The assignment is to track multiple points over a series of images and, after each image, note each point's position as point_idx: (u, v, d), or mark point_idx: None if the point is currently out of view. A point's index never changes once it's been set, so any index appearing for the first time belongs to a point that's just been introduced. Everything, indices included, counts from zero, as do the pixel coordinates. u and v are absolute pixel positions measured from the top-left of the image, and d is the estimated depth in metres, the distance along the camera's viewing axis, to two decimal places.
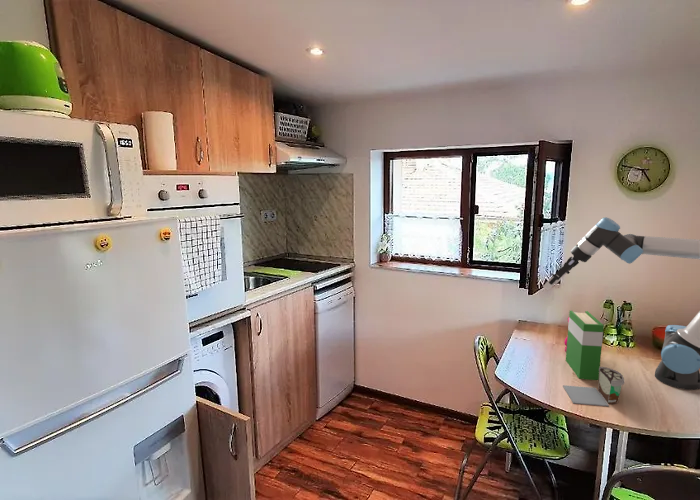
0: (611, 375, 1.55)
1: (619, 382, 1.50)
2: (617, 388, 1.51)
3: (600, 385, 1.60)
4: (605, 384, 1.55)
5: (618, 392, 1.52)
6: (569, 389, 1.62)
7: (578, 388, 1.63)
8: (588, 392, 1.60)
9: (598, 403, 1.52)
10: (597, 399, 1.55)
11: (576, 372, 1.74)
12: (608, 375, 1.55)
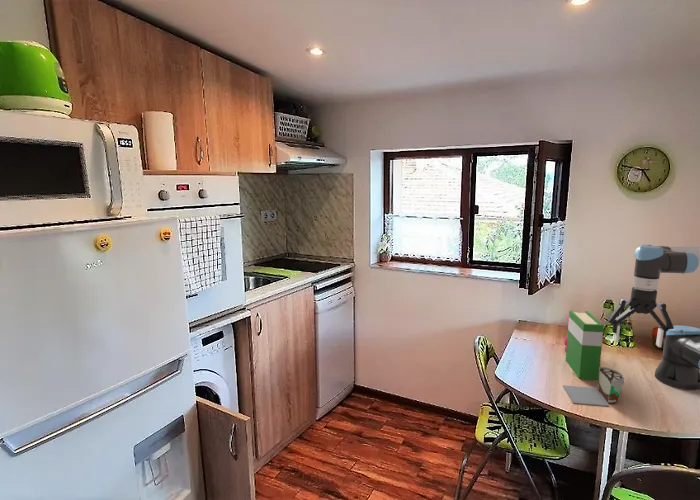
0: (611, 375, 1.55)
1: (619, 382, 1.50)
2: (617, 388, 1.51)
3: (600, 385, 1.60)
4: (605, 384, 1.55)
5: (618, 392, 1.52)
6: (569, 389, 1.62)
7: (578, 388, 1.63)
8: (588, 392, 1.60)
9: (598, 403, 1.52)
10: (597, 399, 1.55)
11: (576, 372, 1.74)
12: (608, 375, 1.55)
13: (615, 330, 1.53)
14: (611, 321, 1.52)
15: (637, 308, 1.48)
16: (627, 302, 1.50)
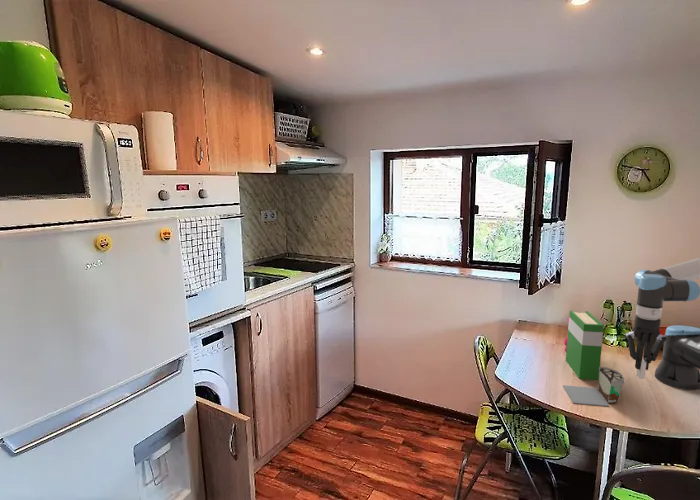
0: (611, 375, 1.55)
1: (619, 382, 1.50)
2: (617, 388, 1.51)
3: (600, 385, 1.60)
4: (605, 384, 1.55)
5: (618, 392, 1.52)
6: (569, 389, 1.62)
7: (578, 388, 1.63)
8: (588, 392, 1.60)
9: (598, 403, 1.52)
10: (597, 399, 1.55)
11: (576, 372, 1.74)
12: (608, 375, 1.55)
13: (639, 366, 1.52)
14: (635, 357, 1.51)
15: (644, 338, 1.48)
16: (632, 334, 1.50)
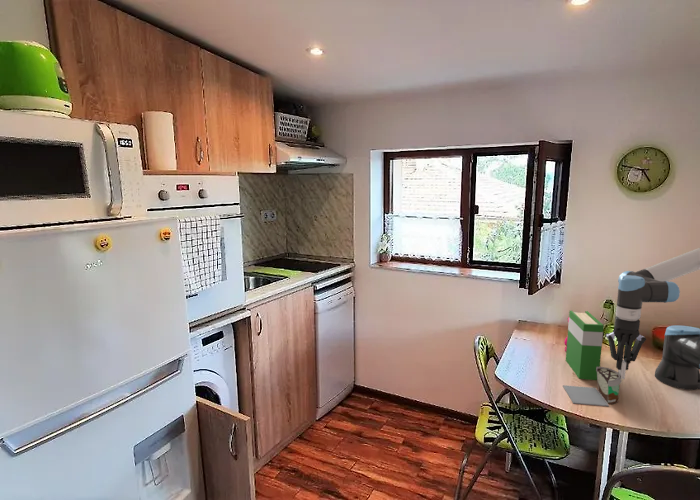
0: (608, 374, 1.56)
1: (616, 381, 1.50)
2: (615, 387, 1.51)
3: (599, 385, 1.60)
4: (603, 384, 1.55)
5: (616, 391, 1.52)
6: (569, 389, 1.62)
7: (578, 388, 1.63)
8: (588, 392, 1.60)
9: (598, 403, 1.52)
10: (597, 399, 1.55)
11: (576, 372, 1.74)
12: (605, 375, 1.55)
13: (620, 367, 1.53)
14: (616, 358, 1.52)
15: (624, 338, 1.50)
16: (612, 335, 1.52)
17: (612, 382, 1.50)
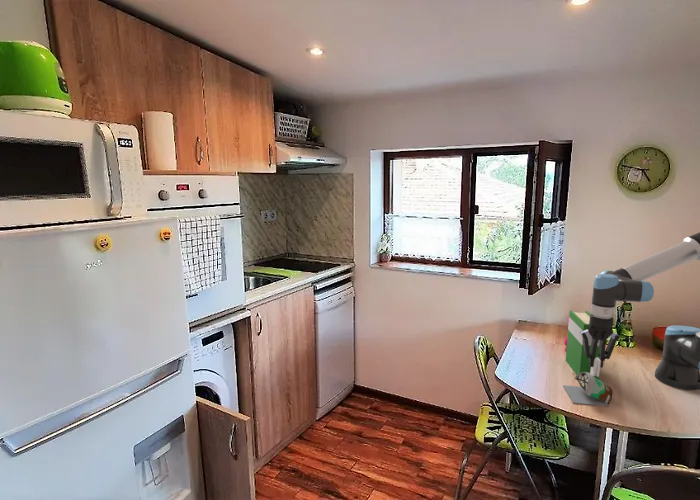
0: (583, 380, 1.58)
1: (589, 387, 1.52)
2: (595, 390, 1.52)
3: None
4: None
5: (601, 389, 1.53)
6: (569, 389, 1.62)
7: (578, 388, 1.63)
8: None
9: (598, 403, 1.52)
10: (597, 399, 1.55)
11: (576, 372, 1.74)
12: (582, 384, 1.57)
13: (592, 364, 1.55)
14: (588, 355, 1.54)
15: (597, 336, 1.52)
16: (587, 332, 1.53)
17: (588, 390, 1.52)
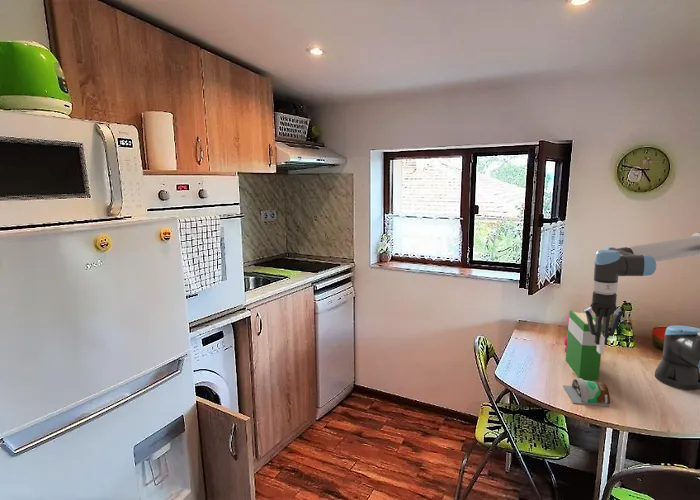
0: (578, 387, 1.59)
1: (583, 394, 1.53)
2: (591, 395, 1.53)
3: None
4: None
5: (596, 392, 1.53)
6: (569, 389, 1.62)
7: None
8: None
9: (598, 403, 1.52)
10: None
11: (576, 372, 1.74)
12: (578, 392, 1.58)
13: (598, 342, 1.53)
14: (593, 333, 1.52)
15: (601, 313, 1.50)
16: (590, 310, 1.52)
17: (583, 398, 1.53)
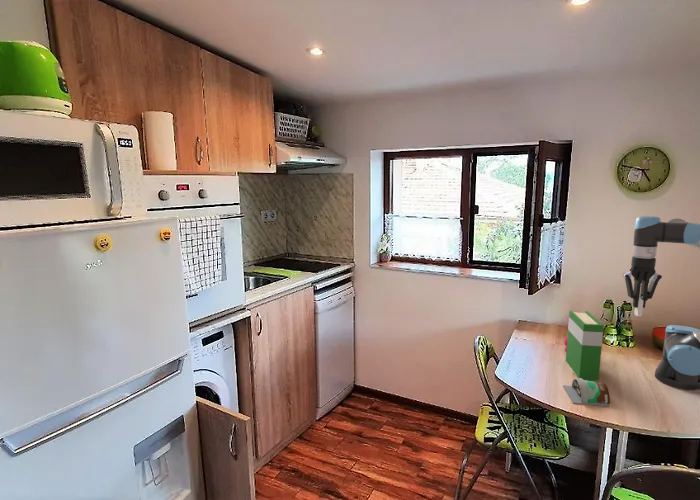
0: (578, 387, 1.59)
1: (583, 394, 1.53)
2: (591, 395, 1.53)
3: None
4: None
5: (596, 392, 1.53)
6: (569, 389, 1.62)
7: None
8: None
9: (598, 403, 1.52)
10: None
11: (576, 372, 1.74)
12: (578, 392, 1.58)
13: (636, 305, 1.60)
14: (632, 296, 1.59)
15: (640, 276, 1.57)
16: (629, 274, 1.58)
17: (583, 398, 1.53)
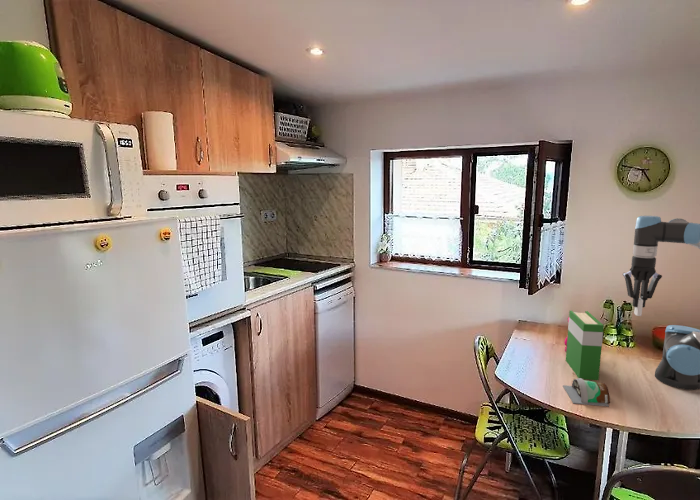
0: (578, 387, 1.59)
1: (583, 394, 1.53)
2: (591, 395, 1.53)
3: None
4: None
5: (596, 392, 1.53)
6: (569, 389, 1.62)
7: None
8: None
9: (598, 403, 1.52)
10: None
11: (576, 372, 1.74)
12: (578, 392, 1.58)
13: (636, 304, 1.60)
14: (632, 296, 1.59)
15: (640, 276, 1.57)
16: (629, 273, 1.59)
17: (583, 398, 1.53)
